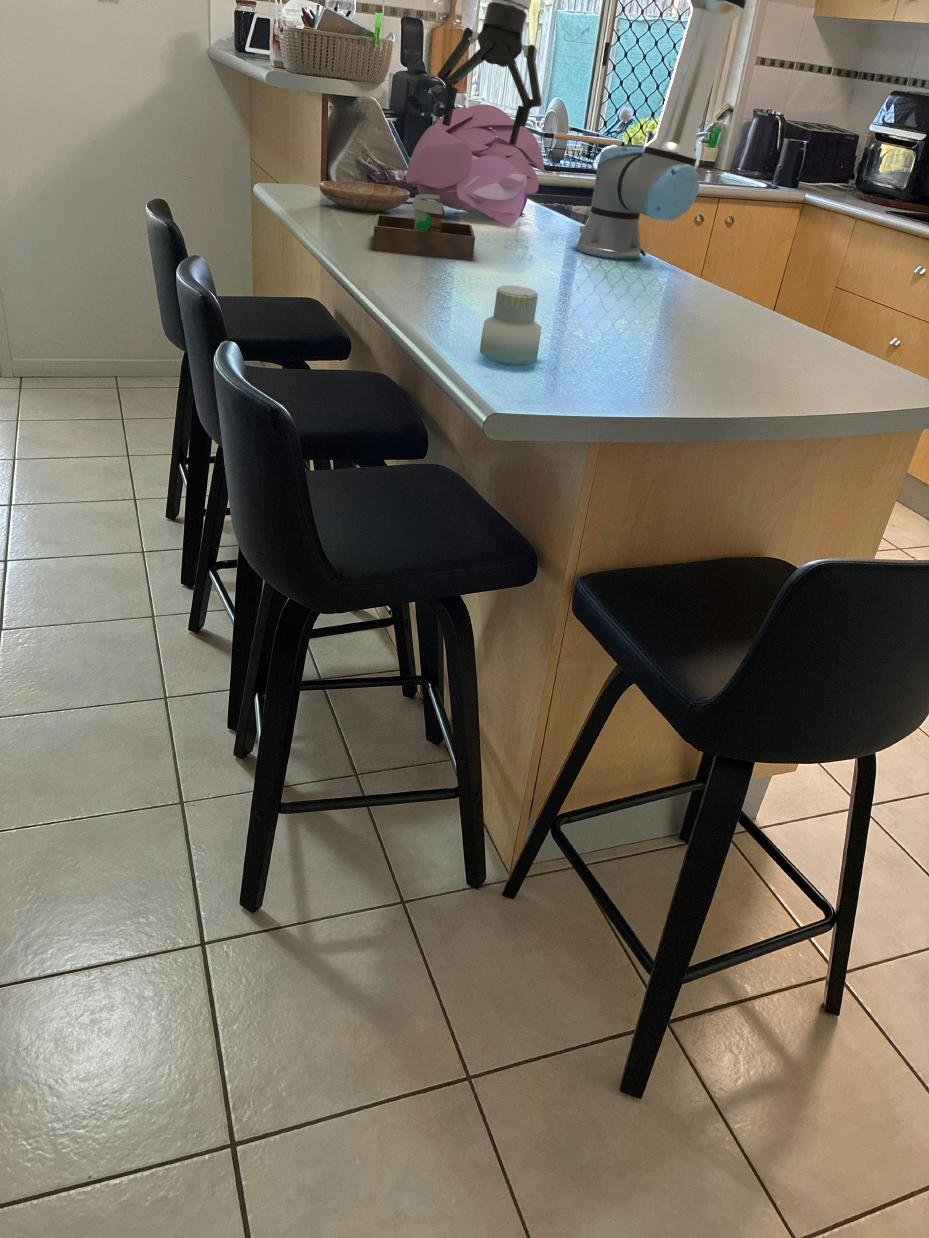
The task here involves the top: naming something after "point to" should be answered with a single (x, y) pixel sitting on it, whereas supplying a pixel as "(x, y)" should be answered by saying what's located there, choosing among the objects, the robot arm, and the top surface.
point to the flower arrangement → (477, 163)
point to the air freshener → (512, 327)
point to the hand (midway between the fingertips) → (478, 135)
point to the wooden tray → (423, 238)
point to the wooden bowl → (364, 195)
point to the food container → (427, 213)
